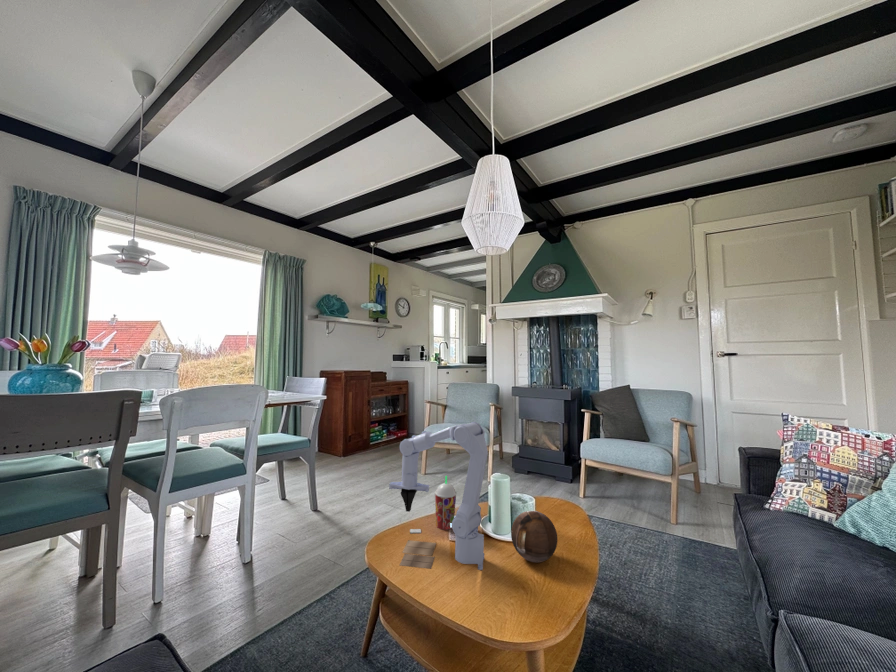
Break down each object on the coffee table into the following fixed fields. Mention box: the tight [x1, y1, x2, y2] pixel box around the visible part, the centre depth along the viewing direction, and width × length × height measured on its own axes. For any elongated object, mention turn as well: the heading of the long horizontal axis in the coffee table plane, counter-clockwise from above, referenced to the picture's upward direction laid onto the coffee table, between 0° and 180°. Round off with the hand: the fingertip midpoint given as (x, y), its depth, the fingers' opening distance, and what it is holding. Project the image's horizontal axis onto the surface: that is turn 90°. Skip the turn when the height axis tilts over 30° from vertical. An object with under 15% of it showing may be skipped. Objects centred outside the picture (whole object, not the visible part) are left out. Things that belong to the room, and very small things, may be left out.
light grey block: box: [409, 528, 422, 534], centre depth 131 cm, size 4×2×2 cm, turn 96°
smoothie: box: [434, 475, 457, 531], centre depth 137 cm, size 8×8×20 cm
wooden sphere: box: [510, 510, 558, 563], centre depth 118 cm, size 15×15×15 cm
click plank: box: [401, 539, 437, 556], centre depth 120 cm, size 10×8×1 cm
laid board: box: [399, 553, 436, 570], centre depth 112 cm, size 10×7×2 cm
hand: (408, 510), depth 128 cm, fingers closed
